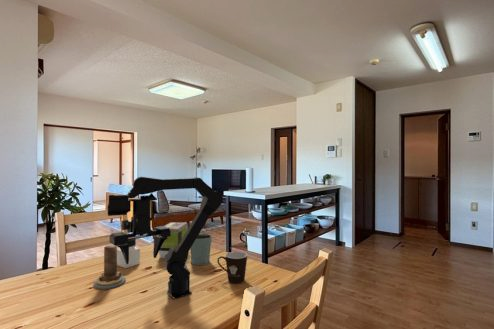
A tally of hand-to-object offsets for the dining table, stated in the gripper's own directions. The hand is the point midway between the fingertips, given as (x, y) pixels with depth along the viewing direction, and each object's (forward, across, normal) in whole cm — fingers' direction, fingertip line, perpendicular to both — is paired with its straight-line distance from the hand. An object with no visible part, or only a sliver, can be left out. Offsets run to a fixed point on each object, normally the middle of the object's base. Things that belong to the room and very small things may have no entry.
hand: (141, 260), depth 93 cm
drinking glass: (+13, -35, -19) cm, 42 cm away
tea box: (+13, -31, -38) cm, 51 cm away
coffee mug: (+13, -34, +7) cm, 37 cm away
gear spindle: (+11, +4, -21) cm, 24 cm away
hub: (+13, +4, -21) cm, 25 cm away
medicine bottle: (+13, -8, -37) cm, 40 cm away
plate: (+13, +4, -21) cm, 25 cm away
